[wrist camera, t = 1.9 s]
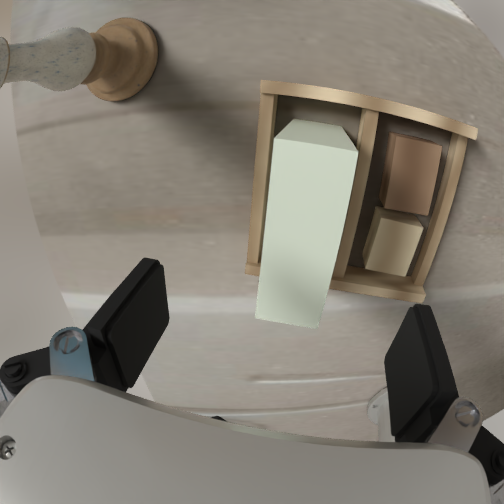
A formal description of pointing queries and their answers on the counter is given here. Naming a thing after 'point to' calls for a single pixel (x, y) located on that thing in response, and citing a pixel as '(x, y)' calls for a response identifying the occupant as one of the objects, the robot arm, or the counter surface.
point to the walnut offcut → (409, 173)
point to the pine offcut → (391, 241)
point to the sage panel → (304, 220)
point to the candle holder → (85, 59)
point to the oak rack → (357, 187)
